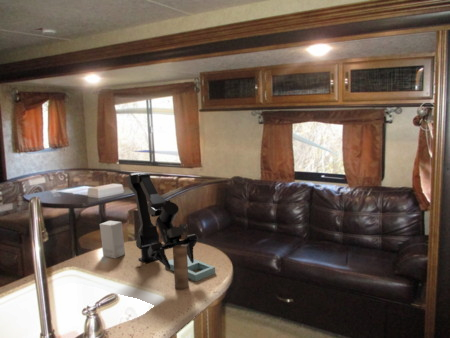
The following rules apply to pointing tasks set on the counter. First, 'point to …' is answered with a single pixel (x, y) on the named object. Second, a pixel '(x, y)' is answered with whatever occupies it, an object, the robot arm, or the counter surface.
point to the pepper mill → (180, 267)
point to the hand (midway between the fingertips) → (181, 265)
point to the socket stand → (205, 268)
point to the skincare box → (112, 239)
